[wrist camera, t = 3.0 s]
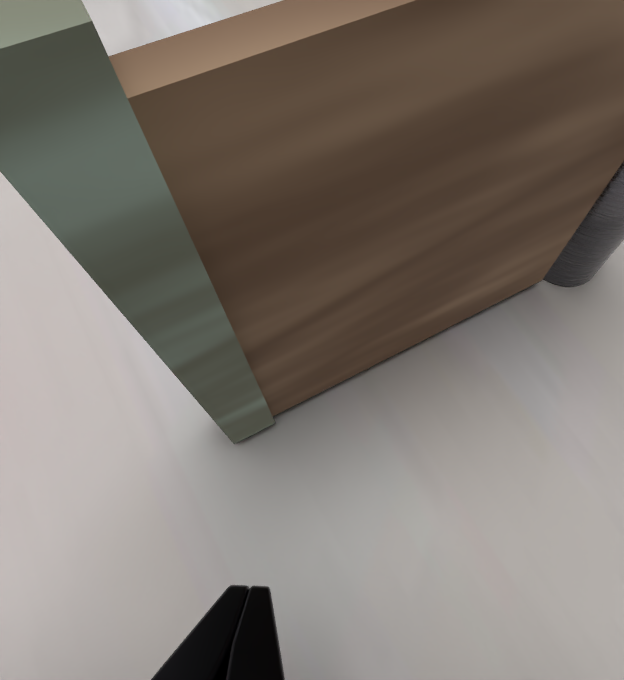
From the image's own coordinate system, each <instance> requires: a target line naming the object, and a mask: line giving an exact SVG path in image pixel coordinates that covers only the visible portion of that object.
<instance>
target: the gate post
mask: <svg viewBox="0 0 624 680" xmlns="http://www.w3.org/2000/svg"><path fill="white" fill-rule="evenodd" d="M623 240H624V161H623V162H622V164H621V165H620V167H619V168H618V170H617V171H616V173H615V174H614V176H613V177H612V179H611V180H610V181H609V183H608V184H607V186H606V187H605V189H604V190H603V192H602V193H601V195H600V196H599V198H598V199H597V200H596V202H595V203H594V205H593V206H592V208H591V209H590V211H589V212H588V214H587V215H586V217H585V218H584V220H583V221H582V222H581V224H580V225H579V227H578V228H577V230H576V231H575V233H574V234H573V236H572V237H571V239H570V240H569V241H568V243H567V244H566V246H565V247H564V249H563V250H562V252H561V253H560V255H559V256H558V258H557V259H556V260H555V262H554V263H553V265H552V266H551V268H550V269H549V271H548V272H547V274H546V275H545V277H544V278H543V279H545V280H547V281H549V282H551V283H553V284H556V285H561V286H578V285H581V284H584V283H586V282H587V281H589V280H590V279H591V278H592V277H593V276H594V274H595V273H596V272H597V271H598V270H599V268H600V267H601V266H602V265H603V264H604V263H605V261H606V260H607V259H608V258H609V257H610V255H611V254H612V253H613V252H614V251H615V250H616V248H617V247H618V246H619V245H620V244H621V242H622V241H623Z"/></svg>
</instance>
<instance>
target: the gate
mask: <svg viewBox="0 0 624 680" xmlns="http://www.w3.org/2000/svg"><path fill="white" fill-rule="evenodd" d="M623 161H624V0H283V1H280V2H277V3H274V4H271V5H268V6H264V7H261V8H258V9H255V10H252V11H249V12H246V13H243V14H240V15H236V16H233V17H230V18H227V19H224V20H221V21H218V22H215V23H211V24H208V25H205V26H202V27H199V28H196V29H193V30H190V31H186V32H183V33H180V34H177V35H174V36H171V37H168V38H165V39H162V40H158V41H155V42H152V43H149V44H146V45H143V46H140V47H137V48H133V49H130V50H127V51H124V52H121V53H118V54H115V55H112V56H109V57H108V55H107V53H106V51H105V48H104V46H103V44H102V42H101V40H100V37H99V35H98V33H97V31H96V29H95V26H94V24H93V22H92V20H91V18H90V16H89V14H88V12H87V10H86V8H85V6H84V4H83V3H82V1H81V0H0V172H1V173H2V174H3V175H4V176H5V177H6V179H7V180H8V181H9V182H10V183H11V184H12V186H13V187H14V188H15V189H16V190H17V191H18V193H19V194H20V195H21V196H22V197H23V198H24V200H25V201H26V202H27V203H28V204H29V205H30V207H31V208H32V209H33V210H34V211H35V212H36V214H37V215H38V216H39V217H40V218H41V219H42V221H43V222H44V223H45V224H46V225H47V226H48V228H49V229H50V230H51V231H52V232H53V233H54V235H55V236H56V237H57V238H58V239H59V240H60V242H61V243H62V244H63V245H64V246H65V247H66V249H67V250H68V251H69V252H70V253H71V254H72V256H73V257H74V258H75V259H76V260H77V261H78V263H79V264H80V265H81V266H82V267H83V268H84V270H85V271H86V272H87V273H88V274H89V275H90V277H91V278H92V279H93V280H94V281H95V282H96V284H97V285H98V286H99V287H100V288H101V289H102V291H103V292H104V293H105V294H106V295H107V296H108V298H109V299H110V300H111V301H112V302H113V303H114V305H115V306H116V307H117V308H118V309H119V310H120V312H121V313H122V314H123V315H124V316H125V317H126V319H127V320H128V321H129V322H130V323H131V324H132V326H133V327H134V328H135V329H136V330H137V331H138V333H139V334H140V335H141V336H142V337H143V338H144V340H145V341H146V342H147V343H148V344H149V345H150V347H151V348H152V349H153V350H154V351H155V352H156V354H157V355H158V356H159V357H160V358H161V359H162V361H163V362H164V363H165V364H166V365H167V366H168V368H169V369H170V370H171V371H172V372H173V373H174V375H175V376H176V377H177V378H178V379H179V380H180V382H181V383H182V384H183V385H184V386H185V387H186V389H187V390H188V391H189V392H190V393H191V394H192V396H193V397H194V398H195V399H196V400H197V401H198V403H199V404H200V405H201V406H202V407H203V408H204V410H205V411H206V412H207V413H208V414H209V415H210V417H211V418H212V419H213V420H214V421H215V422H216V424H217V425H218V426H219V427H220V428H221V429H222V431H223V432H224V433H225V434H226V435H227V436H228V438H229V439H230V440H231V441H232V442H233V443H234V444H235V443H237V442H239V441H241V440H243V439H245V438H247V437H249V436H251V435H253V434H255V433H257V432H259V431H261V430H263V429H265V428H267V427H269V426H271V425H273V424H275V421H274V419H273V416H275V415H277V414H279V413H281V412H283V411H285V410H287V409H289V408H291V407H293V406H295V405H297V404H299V403H300V402H302V401H304V400H306V399H308V398H310V397H312V396H314V395H316V394H318V393H320V392H322V391H324V390H326V389H328V388H330V387H332V386H334V385H336V384H338V383H340V382H342V381H344V380H346V379H348V378H350V377H352V376H354V375H356V374H358V373H360V372H362V371H364V370H366V369H368V368H370V367H372V366H374V365H376V364H378V363H379V362H381V361H383V360H385V359H387V358H389V357H391V356H393V355H395V354H397V353H399V352H401V351H403V350H405V349H407V348H409V347H411V346H413V345H415V344H417V343H419V342H421V341H423V340H425V339H427V338H429V337H431V336H433V335H435V334H437V333H439V332H441V331H443V330H445V329H447V328H449V327H451V326H453V325H455V324H457V323H458V322H460V321H462V320H464V319H466V318H468V317H470V316H472V315H474V314H476V313H478V312H480V311H482V310H484V309H486V308H488V307H490V306H492V305H494V304H496V303H498V302H500V301H502V300H504V299H506V298H508V297H510V296H512V295H514V294H516V293H518V292H520V291H522V290H524V289H526V288H528V287H530V286H532V285H534V284H536V283H537V282H539V281H541V280H543V278H544V277H545V275H546V274H547V272H548V271H549V269H550V268H551V266H552V265H553V263H554V262H555V260H556V259H557V258H558V256H559V255H560V253H561V252H562V250H563V249H564V247H565V246H566V244H567V243H568V241H569V240H570V239H571V237H572V236H573V234H574V233H575V231H576V230H577V228H578V227H579V225H580V224H581V222H582V221H583V220H584V218H585V217H586V215H587V214H588V212H589V211H590V209H591V208H592V206H593V205H594V203H595V202H596V200H597V199H598V198H599V196H600V195H601V193H602V192H603V190H604V189H605V187H606V186H607V184H608V183H609V181H610V180H611V179H612V177H613V176H614V174H615V173H616V171H617V170H618V168H619V167H620V165H621V164H622V162H623Z"/></svg>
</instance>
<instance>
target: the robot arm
mask: <svg viewBox="0 0 624 680" xmlns="http://www.w3.org/2000/svg"><path fill="white" fill-rule="evenodd" d="M151 680H285V678H284V672H283V665H282V659H281V653H280V647H279V641H278V635H277V628H276V622H275V616H274V610H273V604H272V598H271V592H270V588H269V587H267V586H252V587H251V588H249V587H248V586H245V585H231V586H229V587H228V588H227V589H226V590H225V592H224V593H223V594H222V595H221V596H220V598H219V599H218V600H217V601H216V602H215V604H214V605H213V606H212V607H211V608H210V610H209V611H208V612H207V613H206V614H205V616H204V617H203V618H202V619H201V620H200V622H199V623H198V624H197V625H196V626H195V628H194V629H193V630H192V631H191V632H190V634H189V635H188V636H187V637H186V638H185V639H184V641H183V642H182V643H181V644H180V645H179V647H178V648H177V649H176V650H175V651H174V653H173V654H172V655H171V656H170V657H169V659H168V660H167V661H166V662H165V663H164V665H163V666H162V667H161V668H160V669H159V671H158V672H157V673H156V674H155V675H154V677H153V678H152V679H151Z"/></svg>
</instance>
